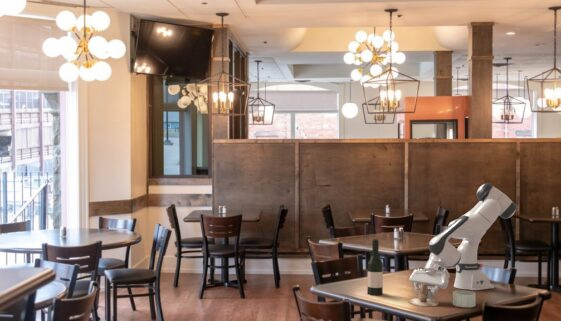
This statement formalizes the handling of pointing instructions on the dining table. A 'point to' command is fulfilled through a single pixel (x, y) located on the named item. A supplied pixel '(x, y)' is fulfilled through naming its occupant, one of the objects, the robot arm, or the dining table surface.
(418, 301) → the lid
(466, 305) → the bowl
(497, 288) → the dining table surface
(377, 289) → the wine bottle
